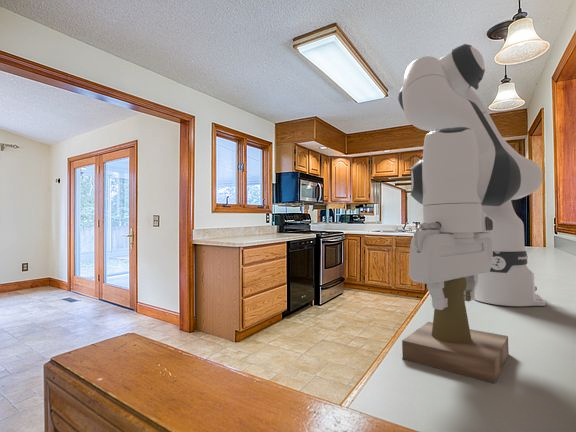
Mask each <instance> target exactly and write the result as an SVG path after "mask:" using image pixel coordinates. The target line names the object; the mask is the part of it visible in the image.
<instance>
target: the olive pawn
mask: <svg viewBox="0 0 576 432" xmlns="http://www.w3.org/2000/svg"><path fill="white" fill-rule="evenodd" d="M466 286H467V281H466V278H465V277H462V278H458V279H453V280H449V281H444V288H442V290H443V294H444V297H445V298H448V302H447V304H448V307H447V308H446V309H443V310H438V309H434V308H433V309H434V310H433V319H432V323H433V327H432V337H433V338H435V339H437V340H440V341H443V342H447V343H456V344H463V343H469V342H471V334H470V325H469V317H468V313H467V312H468V311H467V307H466V301H465V300H464V295H463V292H464V291H465V289H466Z"/></svg>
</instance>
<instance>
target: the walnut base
mask: <svg viewBox="0 0 576 432" xmlns="http://www.w3.org/2000/svg"><path fill="white" fill-rule="evenodd" d="M432 327H433V321H431V322H430V321H427V322H426V323H424V324H423V325H421V326H420V327H418V328H417V329H416V330H414V331H413V332H412V333H411V334H409V335H408V336H406V337H405V338H403V339H402V340H401V345H402V346H401V349H402V360H406V361H410V362H413V363H417V364H421V365H424V366H428V367H432V368H437V369H440V370H444V371H447V372H452V373H454V374H459V375H461V376H462V375H463V376H466V377H469V378H473V379H477V380H481V381H484V380H485V382H488V383H493V384H496V382H497V380H498V378H499V377H500V376H499V375H500V373H501V371H502V369H503V367H504V365H505V362H506V361H507V359H508V357H509V336H508V335H503V334H499V333H494V332H489V331H482V330H478V329H477V330H476V329H472V328H471V329H470V328H469V329H470V334H471V342H469V343H463V344H456V343H447V342H443V341H440V340H437V339H435V338H433V337H432Z"/></svg>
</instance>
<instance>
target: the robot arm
mask: <svg viewBox="0 0 576 432" xmlns="http://www.w3.org/2000/svg"><path fill="white" fill-rule="evenodd" d="M485 71H486V70H485V60H484V56H483V55H482V54H481V52H480V51H479V50H478V49H477V48H476V47H473V45H471V44H467V43H464V44H461V45H459V46H456V47H455V48H453V49H451V51H450V52H448V53H447V54H445V55H443V56H441V57H440V58H437V57H435V56H429V55H426V56H422V57H419V58H417V59H414V60H413V61H412V62H411V63H409V65H408V66H407V68H406V70H405V73H404V75H403V79H402V85H401V89H399V92H398V96H397V97H398V99H397V100H398V103H399V105H400V108H401V109H402V110H403V112H404V115H405V118H406V119H407V122H409V124H411V125H412V126H413V127H415V128H416V129H419V130H422V131H427V132H428V133H426V134H425V136H424V140H423V146H422V147H423V149H422V159H419V160H418V161H417V162H416V163H415V164H414V165H413V166H412V167H410V168H409V173H410V174H409V175H410V181H411V182H410V183H411V191H410V196H411V197H412V198H413V199H414V200H415V201H417V203H419V204H421V205H422V214H423V215H422V216H423V222H421V223H419V224H418V226H417V228H416V229H415V230H414V232H413V237H412V239H411V241H410V244H409V245H410V246H409V256H408V259H409V260H408V276H409V277H410V279H411V282H414V283H419V284H423V285H426V288H427V291H428V293H429V295H430V296H431V300H432V301H431V302H432V303H431V305H432V308H433V309H438V310H443V309H446V308H447V307H448V304H447V302H448V298H445V297H444V294H443V290H442V288H444V281H449V280H453V279H458V278H462V277H465V278H466V281H467V286H466V289H465V291H464V292H463V295H464V300H465V302H467V303H468V302H472V301H478V302H480V303H481V302H482V303H485V304H486V303H487V304H491V305H497V306H507V307H532V306H534V307H535V306H538V307H540V306H542V307H543V306H546V301H545V300H544V299H543V298H542V297H541V296H540V295H539V293H538V292H537V290H538V288H537V286H536V285H535V273H534V272H533V271H532V270H531V269H529V267H528V265H527V264H528V259H529V258H528V253H527V250H525V248H526V247H525V246H526V245H525V225H524V222H523V221H522V219H521V218H520V217H519V216H518V215H517V214H516V211H515V209H514V206H513V203H512V201H513V200H519V199H520V200H521V199H523V198H524V197H527V196H529V195H531V194H533V193H535V192H536V191H537V190H538V189H539V188H540V187H541V185H542V183H543V171H542V169H541V167H540V166H539V164H538V163H536V161H534V160H532V159H529V158H527V157H525V156H523V155H521V154H520V153H519V152H517V150H515V149H514V148H513V147H512V146H511V145H510V144H509V143H508V142H507V141H506V140H505V139H504V138H503V136H502V134H501V133H500V132H499V130H498V128H497V126H496V125H495V122H494V121H493V119H492V117H491V115H490V113H489V111H488V110H487V108H486V106H485V104H484V103H483V101H482V100H481V98H480V97H479V96H478V94H477V93H476V92H475V90H478V89H479V84H480V82H481V81H482V80H483V77H484V75H485ZM472 88H473V89H472ZM474 89H475V90H474Z"/></svg>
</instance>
